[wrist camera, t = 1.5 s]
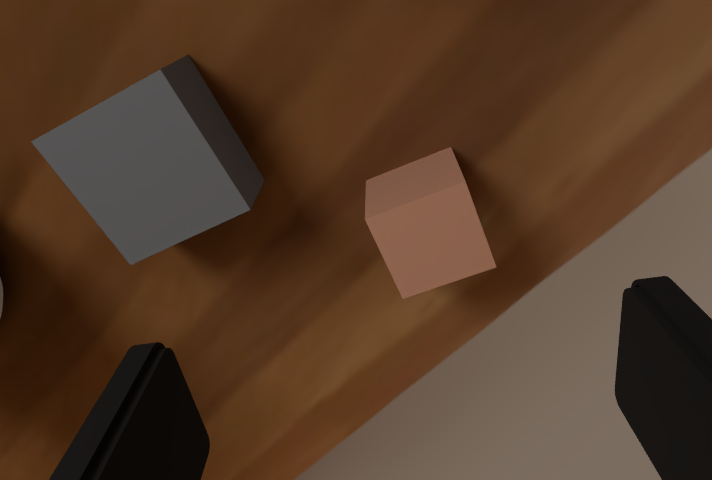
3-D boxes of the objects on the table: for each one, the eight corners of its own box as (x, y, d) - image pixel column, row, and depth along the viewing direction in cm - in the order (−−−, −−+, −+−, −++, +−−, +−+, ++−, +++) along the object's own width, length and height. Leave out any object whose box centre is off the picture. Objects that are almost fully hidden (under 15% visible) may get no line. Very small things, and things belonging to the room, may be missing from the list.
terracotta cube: (450, 146, 34) (465, 181, 28) (478, 222, 36) (496, 267, 31) (366, 180, 35) (365, 219, 30) (398, 251, 38) (402, 298, 32)
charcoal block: (189, 54, 32) (160, 69, 27) (265, 178, 35) (250, 209, 31) (75, 117, 34) (31, 141, 29) (158, 228, 37) (130, 265, 33)
